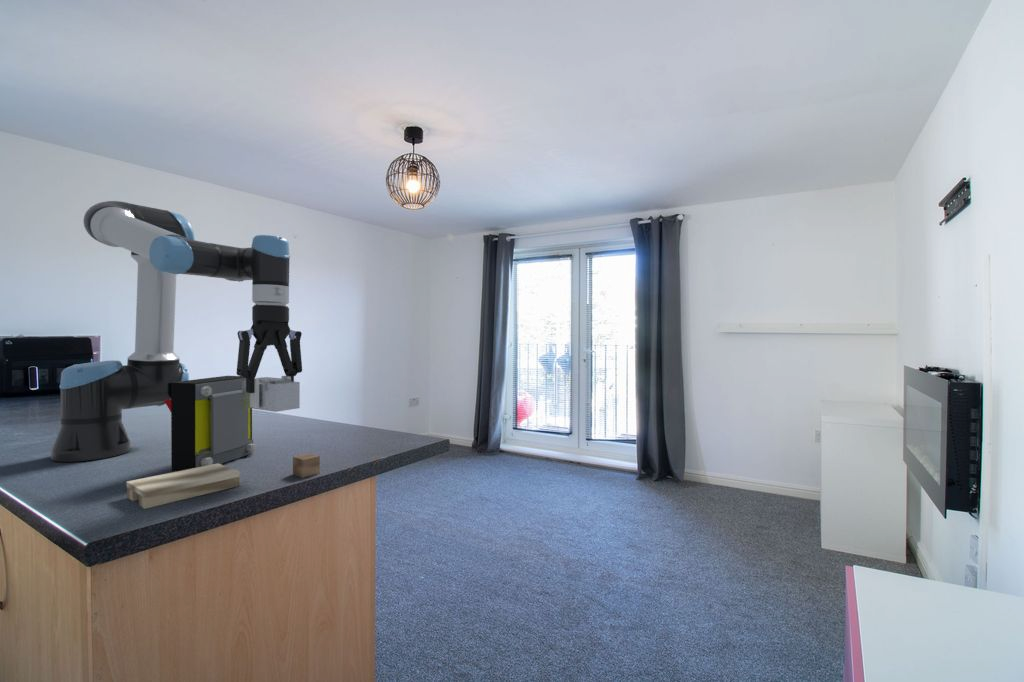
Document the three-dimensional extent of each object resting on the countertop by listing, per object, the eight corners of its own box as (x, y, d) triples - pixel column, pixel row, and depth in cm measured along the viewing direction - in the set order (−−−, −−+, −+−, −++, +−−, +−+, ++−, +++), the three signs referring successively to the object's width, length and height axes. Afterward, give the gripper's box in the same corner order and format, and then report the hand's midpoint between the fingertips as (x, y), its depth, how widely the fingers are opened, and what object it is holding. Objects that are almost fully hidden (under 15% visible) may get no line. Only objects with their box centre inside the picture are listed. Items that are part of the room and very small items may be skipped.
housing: (242, 407, 110) (242, 378, 110) (266, 403, 115) (266, 376, 115) (275, 411, 104) (275, 381, 104) (299, 408, 110) (299, 379, 109)
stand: (126, 497, 91) (126, 481, 91) (218, 477, 104) (218, 463, 104) (145, 509, 85) (145, 492, 85) (239, 486, 98) (239, 471, 98)
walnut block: (292, 474, 106) (292, 456, 106) (309, 470, 110) (309, 453, 110) (302, 478, 104) (302, 459, 104) (319, 473, 107) (319, 455, 107)
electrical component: (202, 473, 106) (202, 383, 106) (164, 470, 108) (163, 382, 108) (259, 453, 124) (259, 376, 123) (225, 451, 126) (225, 375, 125)
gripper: (232, 302, 99) (232, 412, 100) (319, 306, 115) (318, 402, 115) (217, 302, 104) (217, 408, 104) (302, 307, 119) (302, 399, 120)
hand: (270, 405), depth 110 cm, fingers closed on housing, 6 cm apart
